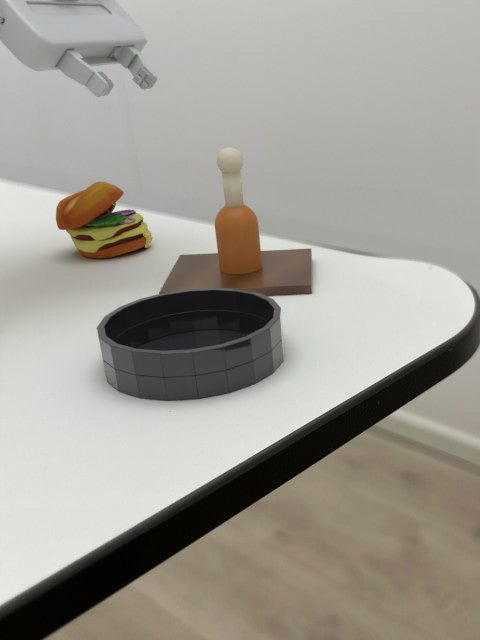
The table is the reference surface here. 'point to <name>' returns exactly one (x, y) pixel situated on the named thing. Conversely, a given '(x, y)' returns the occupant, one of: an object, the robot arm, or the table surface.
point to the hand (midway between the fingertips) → (130, 88)
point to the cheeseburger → (101, 222)
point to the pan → (191, 343)
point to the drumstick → (236, 221)
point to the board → (271, 280)
